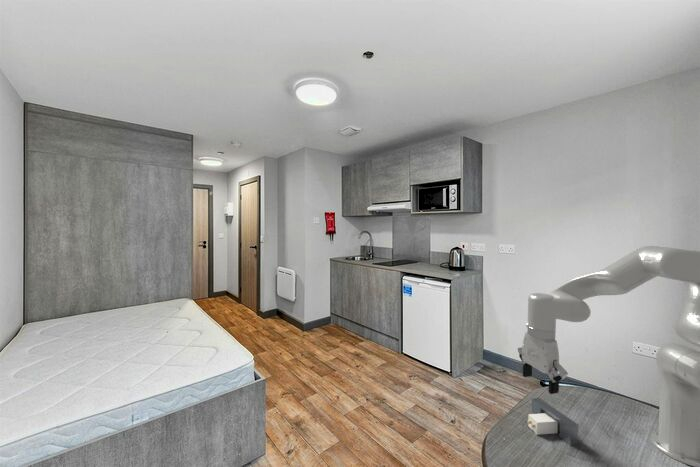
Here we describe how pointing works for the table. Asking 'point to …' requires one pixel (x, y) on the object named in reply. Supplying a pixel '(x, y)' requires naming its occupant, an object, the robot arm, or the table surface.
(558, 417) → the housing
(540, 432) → the plug
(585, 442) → the table surface
